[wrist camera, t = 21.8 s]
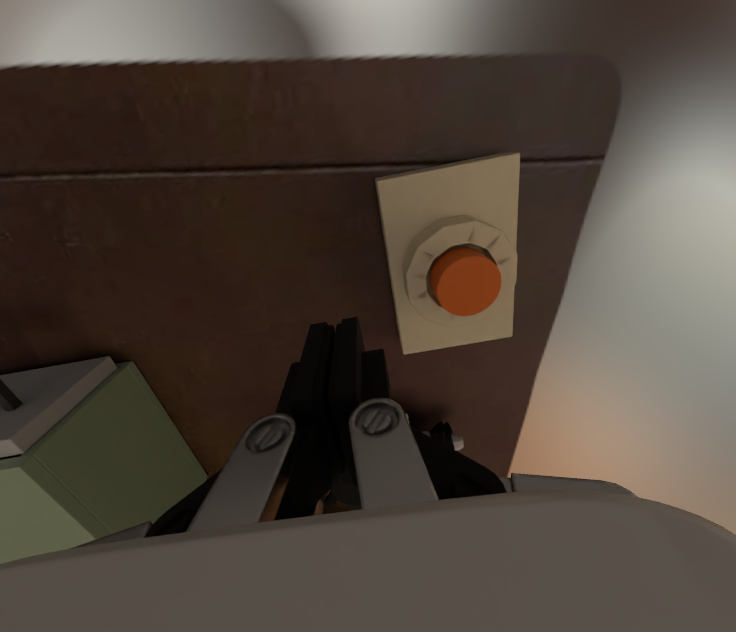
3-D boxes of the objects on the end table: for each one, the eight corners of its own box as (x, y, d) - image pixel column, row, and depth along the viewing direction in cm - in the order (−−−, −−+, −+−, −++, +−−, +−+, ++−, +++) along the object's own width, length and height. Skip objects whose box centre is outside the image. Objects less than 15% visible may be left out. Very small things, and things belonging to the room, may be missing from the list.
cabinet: (-1, 383, 26) (-179, 498, 17) (133, 360, 25) (18, 467, 16) (100, 492, 32) (9, 613, 24) (208, 476, 32) (154, 594, 23)
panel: (374, 178, 19) (378, 183, 16) (503, 152, 19) (537, 152, 16) (399, 339, 25) (406, 370, 21) (500, 322, 25) (524, 350, 21)
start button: (427, 253, 18) (434, 262, 17) (490, 241, 18) (502, 250, 16) (432, 308, 20) (438, 321, 18) (489, 298, 20) (501, 310, 18)
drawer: (-62, 330, 22) (-250, 411, 15) (75, 305, 22) (-56, 376, 15) (86, 486, 30) (7, 584, 24) (188, 470, 30) (138, 565, 23)
